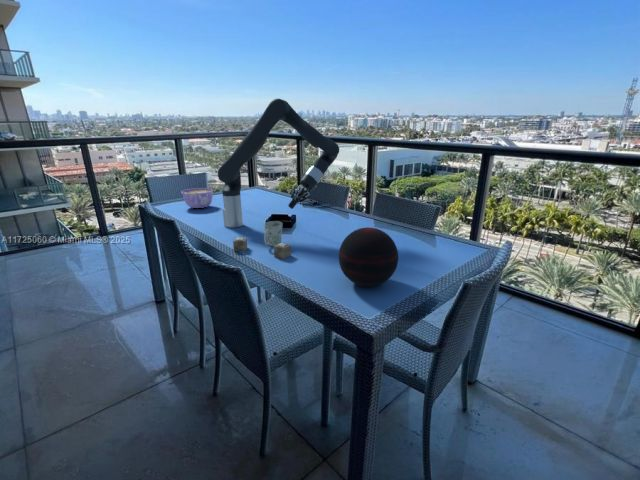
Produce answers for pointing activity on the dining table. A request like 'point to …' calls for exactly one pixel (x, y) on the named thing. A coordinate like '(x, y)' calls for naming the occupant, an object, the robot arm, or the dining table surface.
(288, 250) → the walnut block right
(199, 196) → the bowl of food
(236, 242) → the walnut block left
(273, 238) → the mug
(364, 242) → the decorative orb
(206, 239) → the dining table surface
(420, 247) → the dining table surface
